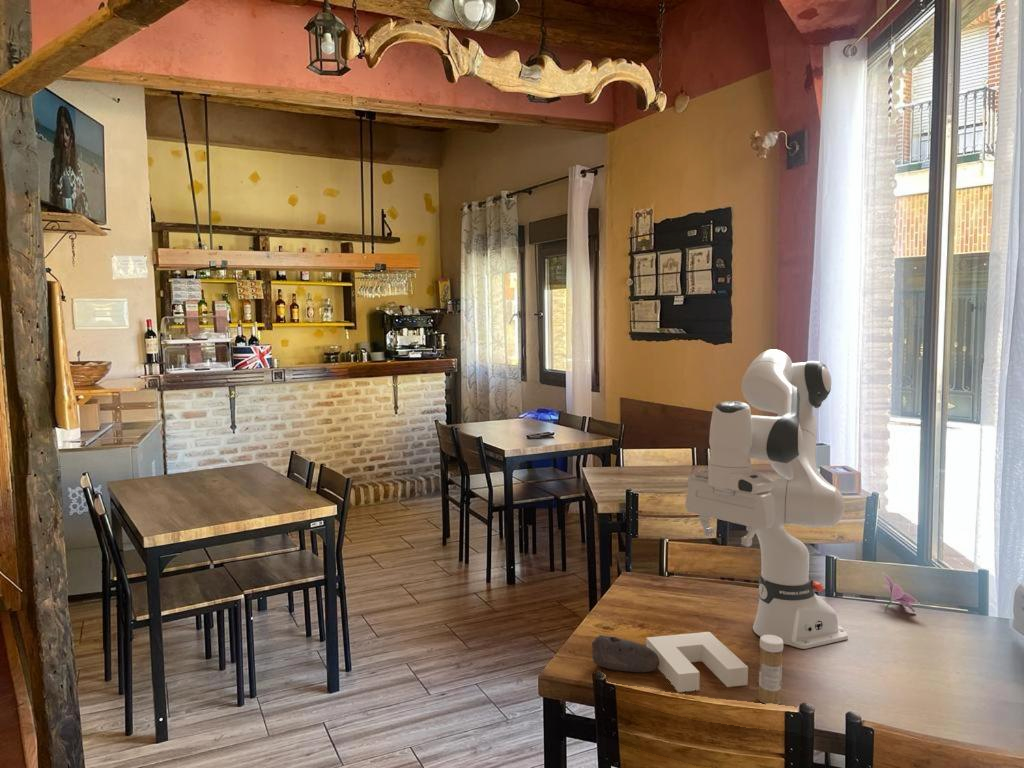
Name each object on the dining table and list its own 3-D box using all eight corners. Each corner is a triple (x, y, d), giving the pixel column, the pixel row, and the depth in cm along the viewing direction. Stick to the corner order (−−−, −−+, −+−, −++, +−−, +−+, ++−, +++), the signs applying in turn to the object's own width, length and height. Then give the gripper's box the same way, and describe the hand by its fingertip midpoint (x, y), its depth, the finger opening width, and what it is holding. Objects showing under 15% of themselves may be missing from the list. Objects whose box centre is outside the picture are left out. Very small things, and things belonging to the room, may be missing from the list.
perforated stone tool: (660, 669, 163) (661, 640, 162) (657, 680, 158) (658, 650, 157) (595, 659, 168) (595, 630, 167) (590, 669, 163) (590, 640, 162)
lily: (918, 628, 187) (933, 594, 188) (872, 605, 190) (887, 572, 191) (904, 623, 198) (918, 592, 199) (861, 602, 202) (875, 571, 202)
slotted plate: (708, 647, 173) (709, 631, 173) (747, 684, 156) (748, 667, 155) (646, 653, 170) (646, 637, 170) (678, 692, 153) (678, 674, 152)
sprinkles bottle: (763, 693, 152) (765, 631, 151) (784, 701, 149) (787, 638, 148) (754, 701, 149) (756, 638, 148) (775, 709, 146) (777, 645, 145)
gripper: (680, 471, 161) (678, 532, 162) (764, 487, 146) (761, 554, 147) (697, 468, 165) (695, 527, 166) (780, 483, 150) (777, 548, 151)
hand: (727, 540), depth 156 cm, fingers open, 8 cm apart
